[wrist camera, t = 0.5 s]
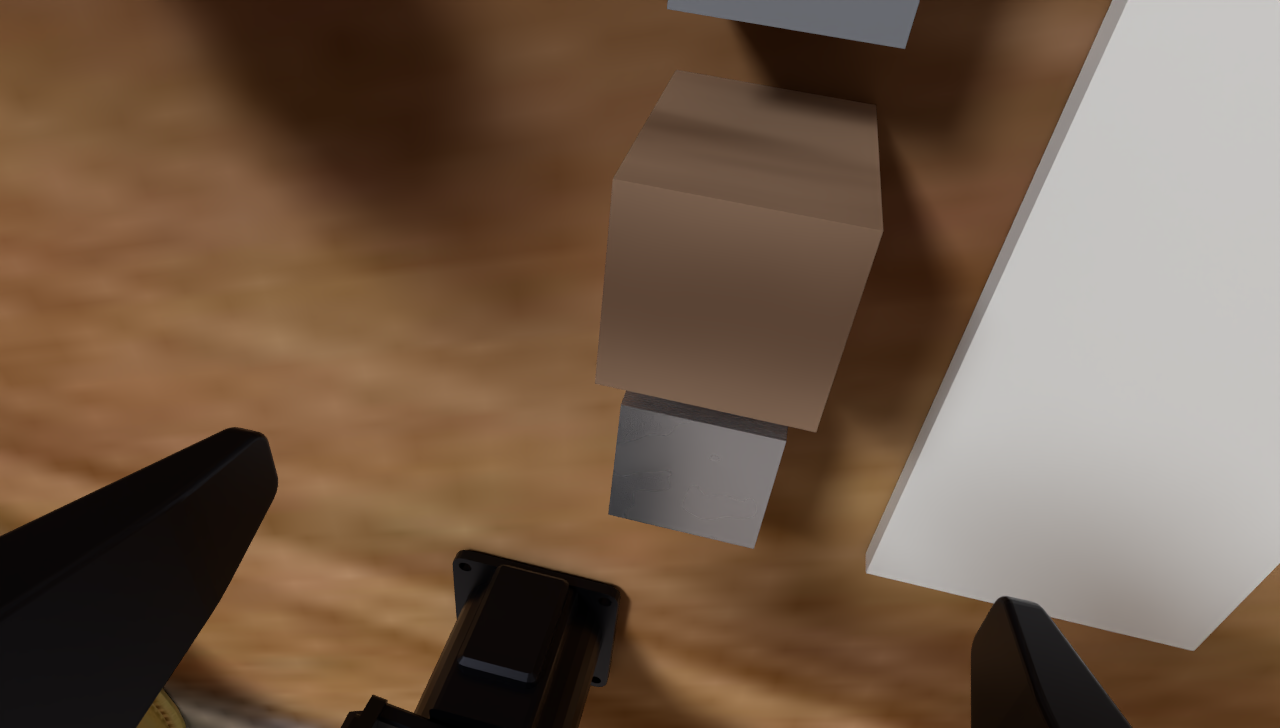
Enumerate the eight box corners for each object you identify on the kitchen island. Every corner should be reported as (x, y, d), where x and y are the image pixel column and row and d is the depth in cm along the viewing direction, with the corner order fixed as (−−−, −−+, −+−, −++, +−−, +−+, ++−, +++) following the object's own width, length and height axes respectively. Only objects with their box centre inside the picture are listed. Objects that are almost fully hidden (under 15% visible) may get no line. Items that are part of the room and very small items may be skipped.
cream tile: (1185, 628, 25) (1193, 651, 24) (865, 553, 26) (865, 573, 25) (1866, -99, 12) (1920, -93, 12) (1196, -189, 13) (1212, -186, 13)
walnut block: (825, 277, 20) (815, 432, 16) (653, 242, 21) (595, 383, 16) (876, 104, 17) (883, 230, 13) (676, 69, 18) (613, 178, 13)
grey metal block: (766, 447, 24) (753, 549, 21) (639, 418, 25) (608, 514, 21) (796, 343, 22) (786, 441, 19) (653, 314, 22) (621, 404, 19)
